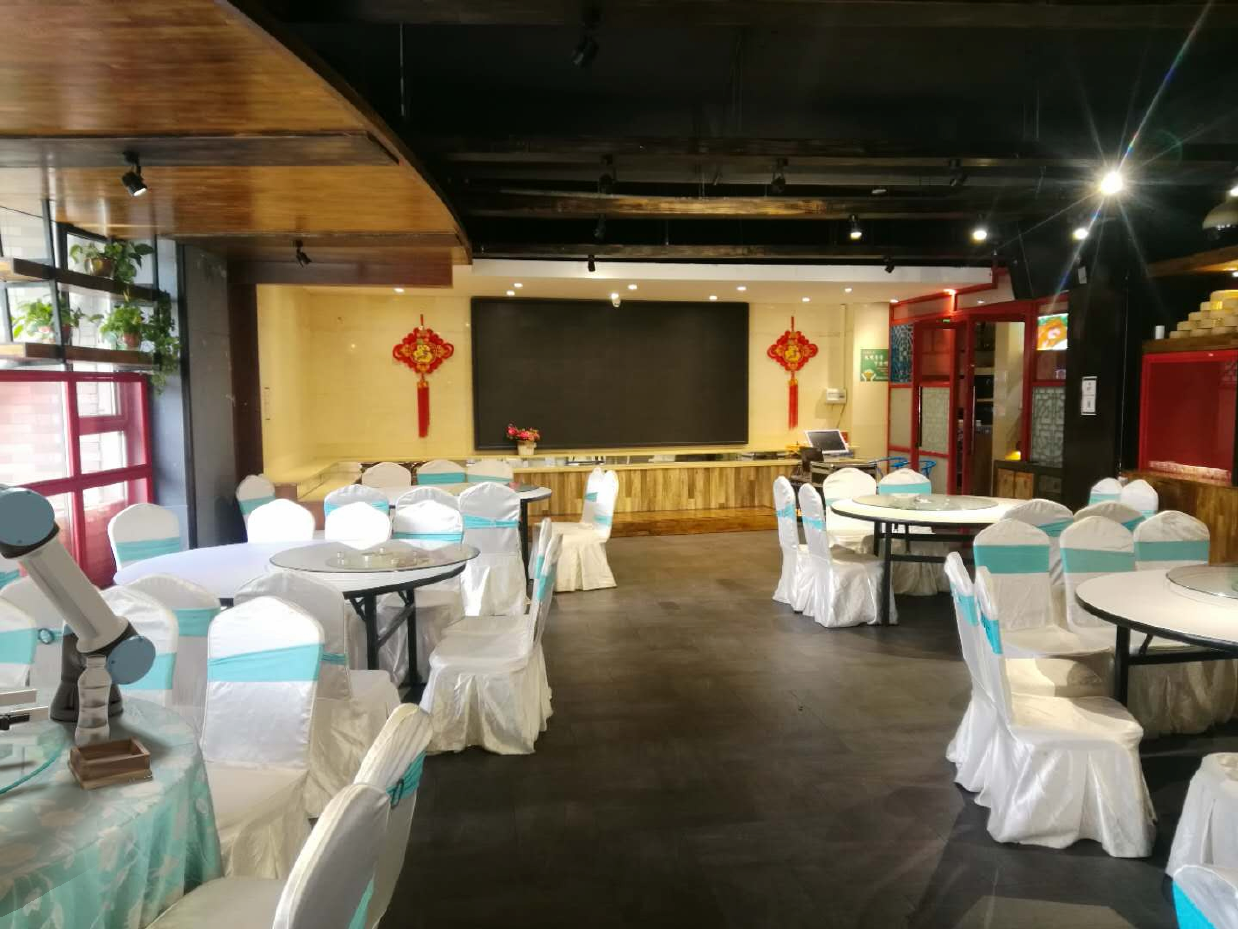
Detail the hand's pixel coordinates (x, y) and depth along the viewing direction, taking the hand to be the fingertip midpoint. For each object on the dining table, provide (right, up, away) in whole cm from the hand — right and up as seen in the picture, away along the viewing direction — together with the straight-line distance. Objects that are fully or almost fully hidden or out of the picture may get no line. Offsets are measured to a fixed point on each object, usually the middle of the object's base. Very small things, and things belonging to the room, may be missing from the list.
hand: (42, 704), depth 179 cm
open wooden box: (+17, -12, -5) cm, 22 cm away
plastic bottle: (+6, -12, +7) cm, 15 cm away
